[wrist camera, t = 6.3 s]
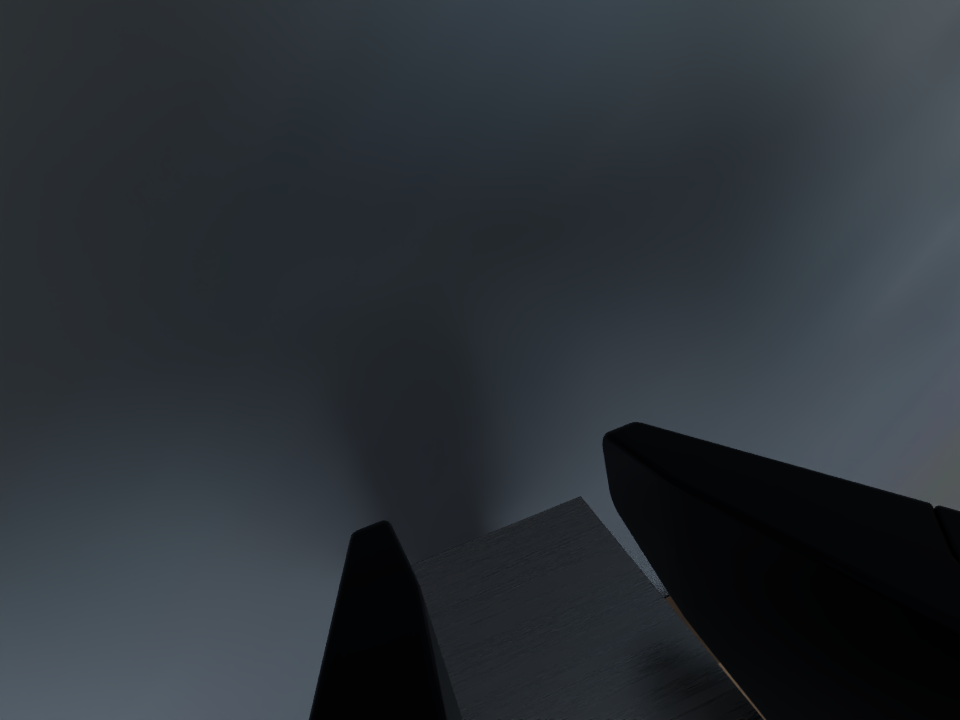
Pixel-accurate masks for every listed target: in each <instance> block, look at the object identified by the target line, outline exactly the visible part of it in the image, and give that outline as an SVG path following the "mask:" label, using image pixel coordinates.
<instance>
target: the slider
mask: <svg viewBox="0 0 960 720" xmlns="http://www.w3.org/2000/svg"><path fill="white" fill-rule="evenodd" d="M411 567H412V569H413V571H414V573H415V575H416V577H417V580H418V582H419V585H420V587H421V590H422V593H423V597H424V600H425V603H426V606H427V609H428V612H429V615H430V618H431V622H432V625H433V628H434V631H435V634H436V637H437V640H438V644H439V647H440V650H441V653H442V656H443V659H444V662H445V665H446V669H447V672H448V675H449V678H450V681H451V684H452V687H453V691H454V694H455V697H456V700H457V703H458V706H459V709H460V712H461V716H462V719H463V720H764V719H763V718H762V717H761V716H760V714H759V713H758V712H757V711H756V710H755V708H754V707H753V706H752V705H751V703H750V702H749V701H748V700H747V699H746V697H745V696H744V695H743V694H742V692H741V691H740V690H739V689H738V688H737V686H736V685H735V684H734V683H733V681H732V680H731V679H730V678H729V677H728V675H727V674H726V673H725V672H724V670H723V669H722V668H721V667H720V666H719V664H718V663H717V662H716V661H715V659H714V658H713V657H712V656H711V655H710V653H709V652H708V651H707V650H706V648H705V647H704V646H703V645H702V644H701V642H700V641H699V640H698V639H697V638H696V636H695V635H694V634H693V633H692V631H691V630H690V629H689V628H688V627H687V625H686V624H685V623H684V622H683V620H682V619H681V618H680V617H679V616H678V614H677V613H676V612H675V611H674V609H673V608H672V607H671V606H670V605H669V603H668V602H667V601H666V600H665V598H664V597H663V596H662V595H661V594H660V592H659V591H658V590H657V589H656V587H655V586H654V585H653V584H652V583H651V581H650V580H649V579H648V578H647V576H646V575H645V574H644V573H643V572H642V570H641V569H640V568H639V567H638V566H637V564H636V563H635V562H634V561H633V559H632V558H631V557H630V556H629V555H628V553H627V552H626V551H625V550H624V548H623V547H622V546H621V545H620V544H619V542H618V541H617V540H616V539H615V537H614V536H613V535H612V534H611V533H610V531H609V530H608V529H607V528H606V526H605V525H604V524H603V523H602V522H601V520H600V519H599V518H598V517H597V515H596V514H595V513H594V512H593V511H592V509H591V508H590V507H589V506H588V505H587V503H586V502H585V501H584V500H583V498H582V497H581V496H580V497H577V498H575V499H572V500H570V501H567V502H565V503H563V504H560V505H558V506H555V507H553V508H550V509H548V510H545V511H543V512H540V513H538V514H535V515H533V516H531V517H528V518H526V519H523V520H521V521H518V522H516V523H513V524H511V525H508V526H506V527H503V528H501V529H499V530H496V531H494V532H491V533H489V534H486V535H484V536H481V537H479V538H476V539H474V540H471V541H469V542H467V543H464V544H462V545H459V546H457V547H454V548H452V549H449V550H447V551H444V552H442V553H439V554H437V555H435V556H432V557H430V558H427V559H425V560H422V561H420V562H417V563H415V564H412V565H411Z"/></svg>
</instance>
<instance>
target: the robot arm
mask: <svg viewBox="0 0 960 720" xmlns="http://www.w3.org/2000/svg"><path fill="white" fill-rule="evenodd" d="M602 445H603V453H604V459H605V465H606V471H607V478H608V484H609V490H610V495H611V498H612V501H613V503H614V506H615V508H616V510H617V512H618V513H619V515H620V517H621V518H622V520H623V521H624V523H625V525H626V526H627V528H628V529H629V531H630V533H631V534H632V536H633V537H634V539H635V541H636V542H637V544H638V545H639V547H640V548H641V550H642V552H643V553H644V555H645V556H646V558H647V560H648V561H649V563H650V564H651V566H652V568H653V569H654V571H655V572H656V574H657V576H658V577H659V579H660V580H661V582H662V583H663V585H664V587H665V588H666V590H667V591H668V593H669V595H670V596H671V598H672V599H673V601H674V602H675V604H676V605H677V607H678V608H679V610H680V611H681V613H682V614H683V616H684V617H685V619H686V620H687V621H688V623H689V624H690V625H691V627H692V628H693V629H694V631H695V632H696V633H697V634H698V636H699V637H700V638H701V639H702V641H703V642H704V643H705V644H706V646H707V647H708V648H709V649H710V651H711V652H712V653H713V654H714V656H715V657H716V658H717V659H718V661H719V662H720V663H721V664H722V666H723V667H724V668H725V669H726V671H727V672H728V673H729V674H730V675H731V677H732V678H733V679H734V680H735V682H736V683H737V684H738V685H739V687H740V688H741V689H742V690H743V692H744V693H745V694H746V695H747V697H748V698H749V699H750V700H751V702H752V703H753V704H754V705H755V707H756V708H757V709H758V710H759V712H760V713H761V714H762V715H763V717H764V718H765V719H766V720H960V511H957V510H954V509H950V508H946V507H943V506H936V507H935V508H933V506H932V505H931V504H930V503H928V502H924V501H920V500H917V499H913V498H910V497H906V496H903V495H899V494H895V493H892V492H888V491H885V490H881V489H877V488H874V487H870V486H867V485H863V484H859V483H856V482H852V481H849V480H845V479H841V478H838V477H834V476H831V475H827V474H823V473H820V472H816V471H813V470H809V469H806V468H802V467H798V466H795V465H791V464H788V463H784V462H780V461H777V460H773V459H770V458H766V457H762V456H759V455H755V454H752V453H748V452H744V451H741V450H737V449H734V448H730V447H726V446H723V445H719V444H716V443H712V442H709V441H705V440H701V439H698V438H694V437H691V436H687V435H683V434H680V433H676V432H673V431H669V430H665V429H662V428H658V427H655V426H651V425H647V424H644V423H639V422H632V423H629V424H627V425H624V426H622V427H619V428H617V429H614V430H612V431H609V432H607V433H606V434H605V436H604V437H603V444H602ZM309 720H463V719H462V716H461V712H460V709H459V706H458V703H457V700H456V697H455V694H454V691H453V687H452V684H451V681H450V678H449V675H448V672H447V669H446V665H445V662H444V659H443V656H442V653H441V650H440V647H439V644H438V640H437V637H436V634H435V631H434V628H433V625H432V622H431V618H430V615H429V612H428V609H427V606H426V603H425V600H424V597H423V593H422V590H421V587H420V585H419V582H418V580H417V577H416V575H415V573H414V571H413V569H412V567H411V565H410V563H409V560H408V558H407V556H406V554H405V552H404V550H403V548H402V546H401V544H400V542H399V540H398V538H397V535H396V533H395V531H394V529H393V527H392V525H391V524H390V523H389V522H388V521H385V520H383V521H380V522H377V523H375V524H372V525H370V526H367V527H365V528H362V529H360V530H357V531H355V532H354V533H353V534H352V535H351V538H350V542H349V546H348V551H347V555H346V559H345V564H344V568H343V572H342V577H341V581H340V586H339V590H338V594H337V599H336V603H335V608H334V612H333V616H332V621H331V625H330V629H329V634H328V638H327V643H326V647H325V651H324V656H323V660H322V665H321V669H320V673H319V678H318V682H317V686H316V691H315V695H314V700H313V704H312V708H311V713H310V717H309Z"/></svg>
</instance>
